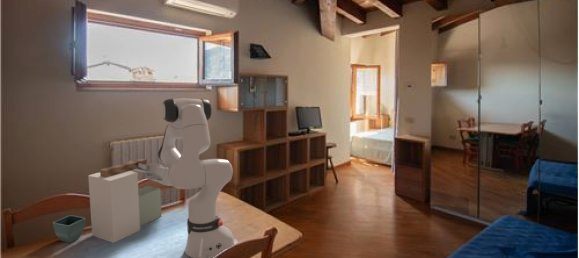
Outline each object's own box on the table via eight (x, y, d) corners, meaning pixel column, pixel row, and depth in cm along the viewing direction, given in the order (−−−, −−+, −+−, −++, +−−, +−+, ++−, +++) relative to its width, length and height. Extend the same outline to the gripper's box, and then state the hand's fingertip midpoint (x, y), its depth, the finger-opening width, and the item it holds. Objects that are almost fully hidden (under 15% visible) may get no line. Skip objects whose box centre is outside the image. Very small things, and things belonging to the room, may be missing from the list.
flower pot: (87, 236, 158) (85, 217, 157) (70, 245, 150) (68, 225, 149) (71, 233, 161) (69, 214, 159) (53, 242, 152) (51, 222, 151)
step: (149, 213, 185) (148, 185, 182) (161, 216, 182) (160, 188, 179) (125, 224, 172) (124, 194, 169) (137, 227, 168) (135, 197, 166)
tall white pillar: (119, 223, 172) (116, 167, 167) (139, 230, 166) (137, 172, 161) (92, 235, 160) (88, 175, 155) (113, 242, 154) (110, 180, 149)
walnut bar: (141, 164, 174) (141, 158, 173) (146, 165, 172) (146, 159, 172) (100, 176, 154) (100, 169, 154) (105, 177, 153) (105, 170, 152)
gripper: (141, 162, 185) (121, 154, 173) (171, 168, 176) (152, 160, 164) (137, 174, 183) (116, 166, 171) (167, 181, 174) (147, 173, 162)
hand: (134, 163), depth 168 cm, fingers closed on walnut bar, 3 cm apart
